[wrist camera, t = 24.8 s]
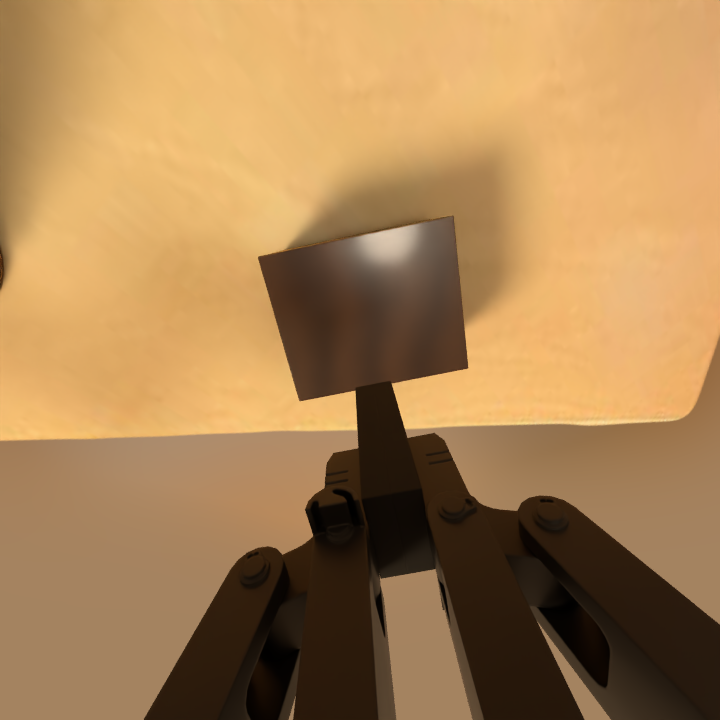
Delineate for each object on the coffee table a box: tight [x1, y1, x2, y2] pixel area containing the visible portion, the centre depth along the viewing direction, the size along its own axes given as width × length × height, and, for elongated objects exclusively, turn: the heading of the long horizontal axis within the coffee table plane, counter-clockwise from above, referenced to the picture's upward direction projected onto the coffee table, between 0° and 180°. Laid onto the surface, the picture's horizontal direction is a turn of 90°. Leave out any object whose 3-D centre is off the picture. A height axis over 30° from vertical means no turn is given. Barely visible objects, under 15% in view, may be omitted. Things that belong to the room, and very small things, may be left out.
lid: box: [258, 216, 468, 401], centre depth 32 cm, size 17×14×1 cm
